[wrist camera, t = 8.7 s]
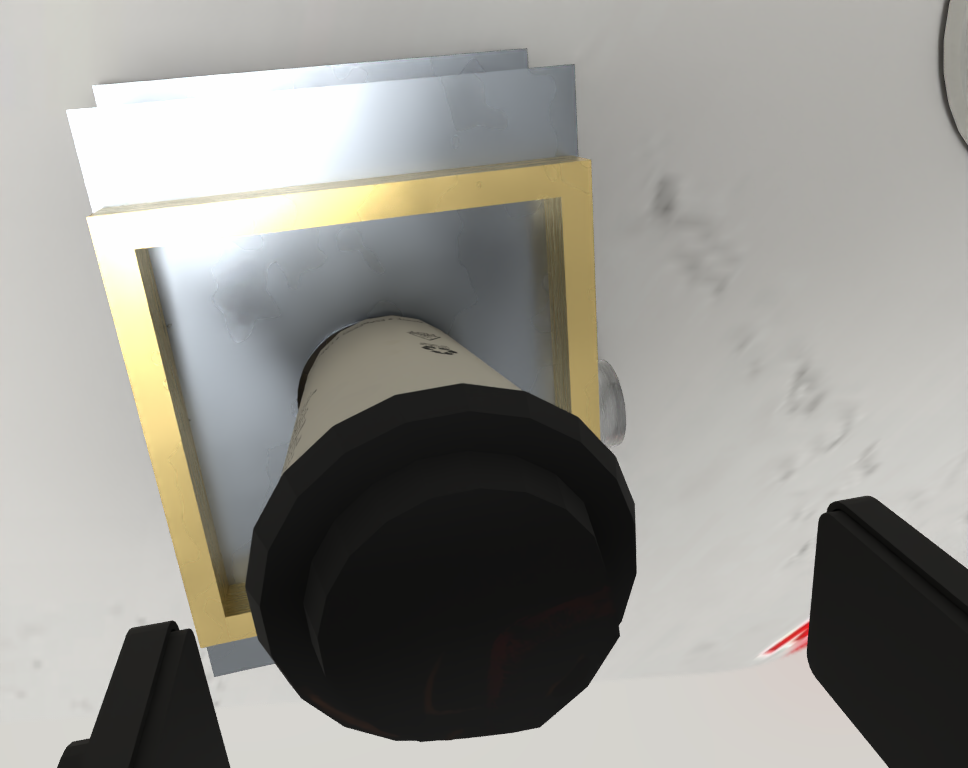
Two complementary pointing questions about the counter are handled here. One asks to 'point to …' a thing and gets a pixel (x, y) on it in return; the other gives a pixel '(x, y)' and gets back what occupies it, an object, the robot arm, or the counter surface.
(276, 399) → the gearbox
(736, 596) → the counter surface
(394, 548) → the coffee cup
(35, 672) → the counter surface
